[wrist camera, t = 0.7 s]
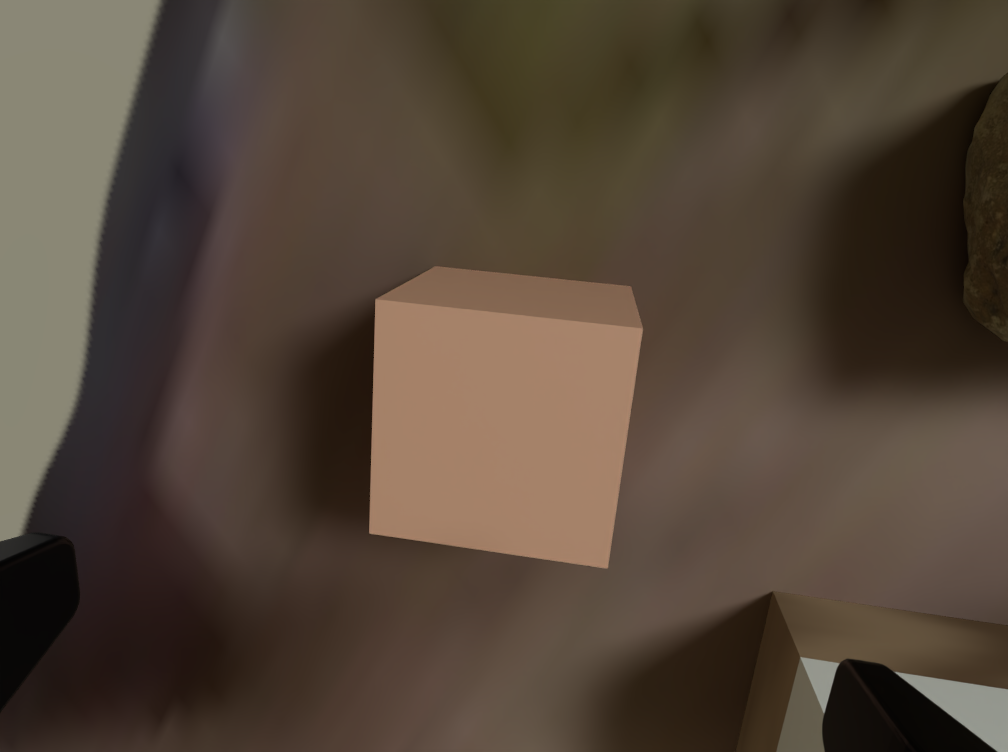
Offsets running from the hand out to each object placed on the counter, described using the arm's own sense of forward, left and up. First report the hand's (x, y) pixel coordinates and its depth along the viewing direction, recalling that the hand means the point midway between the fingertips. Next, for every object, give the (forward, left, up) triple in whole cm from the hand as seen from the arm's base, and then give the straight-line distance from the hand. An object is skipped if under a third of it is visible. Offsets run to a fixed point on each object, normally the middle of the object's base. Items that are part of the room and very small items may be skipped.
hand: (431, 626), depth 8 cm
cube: (0, 0, -11) cm, 11 cm away
